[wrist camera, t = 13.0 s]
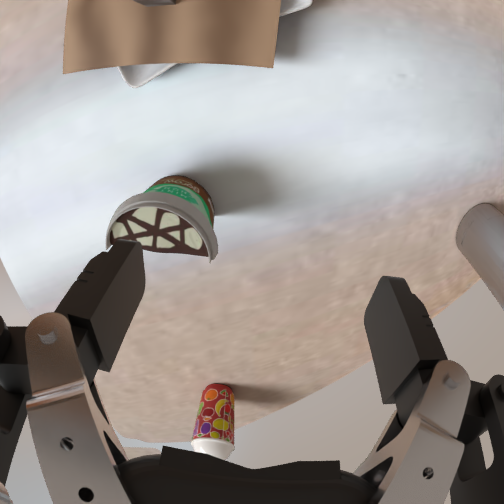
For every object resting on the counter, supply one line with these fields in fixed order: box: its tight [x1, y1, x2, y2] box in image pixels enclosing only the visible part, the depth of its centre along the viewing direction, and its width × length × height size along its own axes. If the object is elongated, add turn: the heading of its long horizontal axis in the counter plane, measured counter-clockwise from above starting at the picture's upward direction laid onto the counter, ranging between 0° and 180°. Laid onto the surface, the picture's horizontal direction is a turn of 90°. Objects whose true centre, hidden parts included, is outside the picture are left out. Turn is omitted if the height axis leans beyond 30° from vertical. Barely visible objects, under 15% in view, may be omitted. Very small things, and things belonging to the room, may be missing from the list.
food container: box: [106, 176, 218, 263], centre depth 33 cm, size 12×6×10 cm, turn 83°
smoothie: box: [191, 384, 235, 460], centre depth 53 cm, size 8×8×20 cm
